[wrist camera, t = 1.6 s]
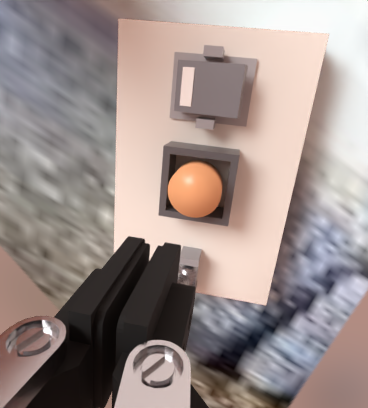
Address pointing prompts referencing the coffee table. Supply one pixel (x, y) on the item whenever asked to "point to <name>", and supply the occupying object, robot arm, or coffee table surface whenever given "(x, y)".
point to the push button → (195, 188)
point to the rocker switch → (210, 88)
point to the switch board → (213, 146)
